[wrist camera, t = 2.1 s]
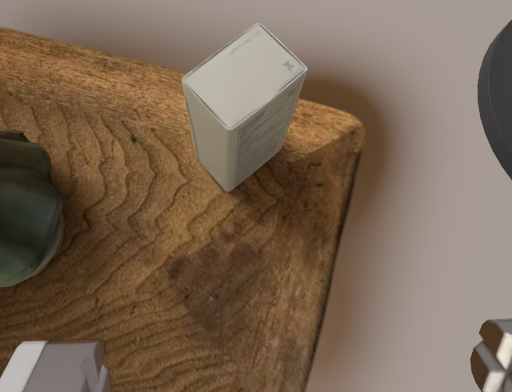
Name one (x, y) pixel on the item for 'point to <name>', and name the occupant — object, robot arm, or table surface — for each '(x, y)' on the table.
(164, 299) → the table surface
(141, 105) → the table surface
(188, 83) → the cosmetic box
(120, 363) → the table surface
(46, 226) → the figurine
